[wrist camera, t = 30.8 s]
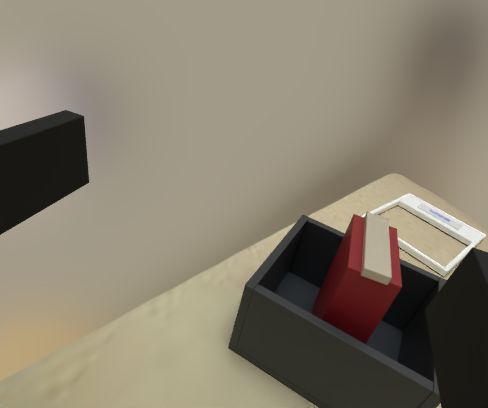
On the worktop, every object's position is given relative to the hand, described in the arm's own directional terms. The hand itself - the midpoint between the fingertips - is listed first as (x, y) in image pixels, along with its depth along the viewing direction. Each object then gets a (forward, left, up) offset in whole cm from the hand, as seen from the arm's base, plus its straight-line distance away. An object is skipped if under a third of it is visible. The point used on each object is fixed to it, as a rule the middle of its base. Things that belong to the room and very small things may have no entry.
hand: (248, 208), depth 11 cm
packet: (+5, +17, -22) cm, 28 cm away
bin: (+5, +17, -23) cm, 29 cm away
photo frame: (+13, +49, -23) cm, 55 cm away
